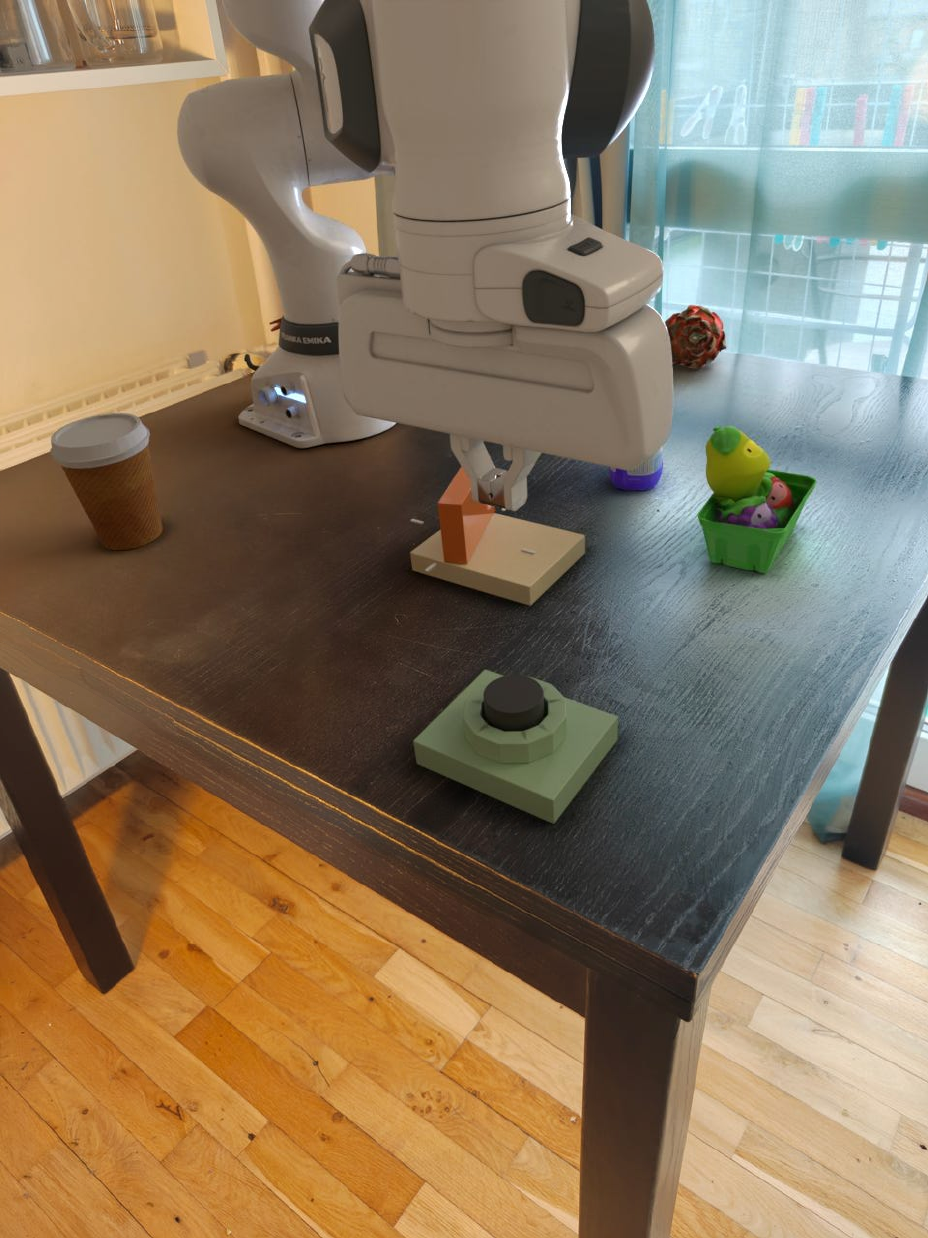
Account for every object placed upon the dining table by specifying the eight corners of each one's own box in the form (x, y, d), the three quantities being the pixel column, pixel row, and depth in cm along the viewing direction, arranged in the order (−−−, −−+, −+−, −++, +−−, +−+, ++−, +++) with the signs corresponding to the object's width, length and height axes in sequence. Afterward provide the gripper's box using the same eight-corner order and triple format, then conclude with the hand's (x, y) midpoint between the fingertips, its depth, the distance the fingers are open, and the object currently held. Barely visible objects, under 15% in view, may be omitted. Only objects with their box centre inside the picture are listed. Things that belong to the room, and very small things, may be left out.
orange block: (467, 564, 78) (461, 501, 75) (444, 562, 79) (437, 500, 75) (495, 511, 86) (490, 453, 83) (473, 510, 87) (468, 452, 83)
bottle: (661, 495, 90) (670, 325, 80) (606, 494, 92) (607, 327, 82) (662, 465, 96) (670, 303, 86) (610, 464, 97) (612, 305, 87)
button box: (416, 764, 61) (409, 720, 59) (486, 691, 67) (483, 649, 64) (553, 824, 55) (552, 779, 53) (617, 739, 61) (618, 695, 59)
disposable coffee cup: (93, 568, 88) (51, 458, 81) (80, 530, 95) (41, 426, 88) (186, 540, 91) (154, 432, 84) (168, 506, 98) (136, 403, 91)
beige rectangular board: (368, 572, 83) (365, 552, 82) (454, 508, 92) (452, 489, 91) (517, 618, 74) (516, 597, 73) (595, 543, 84) (595, 523, 82)
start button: (473, 720, 59) (471, 700, 58) (505, 687, 61) (504, 667, 60) (524, 740, 57) (523, 720, 56) (555, 705, 59) (554, 685, 58)
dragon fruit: (705, 391, 117) (668, 376, 128) (754, 344, 116) (712, 333, 126) (669, 344, 113) (634, 332, 124) (719, 295, 112) (679, 288, 123)
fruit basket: (776, 585, 75) (793, 464, 69) (677, 563, 79) (685, 447, 73) (811, 526, 83) (829, 412, 76) (719, 509, 87) (729, 400, 81)
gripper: (295, 264, 48) (337, 490, 56) (638, 298, 38) (628, 568, 46) (368, 237, 52) (397, 451, 60) (695, 261, 42) (677, 515, 50)
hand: (499, 502), depth 53 cm, fingers closed
